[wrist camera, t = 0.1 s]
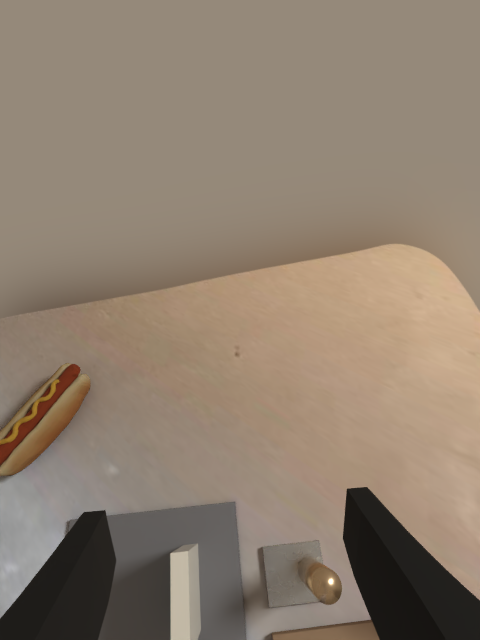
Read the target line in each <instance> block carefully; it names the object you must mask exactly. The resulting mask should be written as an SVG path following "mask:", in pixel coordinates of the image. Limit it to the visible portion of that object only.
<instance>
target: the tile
mask: <svg viewBox="0 0 480 640" xmlns="http://www.w3.org/2000/svg"><path fill="white" fill-rule="evenodd" d="M200 631H201V616H200V587H199V558H198V543H197V544H189V545H183V546H181V547H180V548H178V549H176V550H175V551H173V552H172V553H170V640H198V637H199V634H200Z"/></svg>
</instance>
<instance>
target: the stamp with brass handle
mask: <svg viewBox="0 0 480 640" xmlns="http://www.w3.org/2000/svg"><path fill="white" fill-rule="evenodd" d="M263 556H264V566H265V575H266V584H267V593H268V602H269V608H271V607H279V606H287V605H295V604H303V603H311V602H319V601H320V602H322V603H323V604H326V605H331V604H334V603H336V602H337V601H338V600H339V598H340V596H341V592H342V585H341V581H340V579H339V577H338V575H337V574H336V573H335V572H334V571H333V570H331V569H329V568H328V567H326V566H325V565H323V560H322V554H321V548H320V543H319V540H316V541H307V542H299V543H290V544H282V545H273V546H265V547H263Z"/></svg>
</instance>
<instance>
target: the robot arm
mask: <svg viewBox="0 0 480 640" xmlns="http://www.w3.org/2000/svg"><path fill="white" fill-rule="evenodd" d="M343 540H344V544H345V547H346V551H347V554H348V558H349V561H350V564H351V568H352V571H353V574H354V577H355V580H356V582H357V585H358V587H359V590H360V592H361V595H362V597H363V600H364V602H365V605H366V607H367V610H368V612H369V615H370V617H371V620H372V622H373V625H374V627H375V630H376V632H377V634H378V637H379V639H380V640H480V600H479V599H477V598H476V597H475V596H474V595H473V594H472V593H471V592H470V591H469V590H467V589H466V588H465V587H464V586H463V585H462V584H461V583H460V582H459V581H458V580H457V579H456V578H455V577H453V576H452V575H451V574H450V573H449V572H448V571H447V570H446V569H445V568H444V567H443V566H442V565H441V564H440V563H439V562H438V561H437V560H436V559H435V558H434V557H433V556H432V555H431V554H430V553H429V552H428V551H427V550H426V549H425V548H424V547H423V546H422V545H421V544H420V543H419V542H418V541H417V540H416V539H415V538H414V537H413V536H412V535H411V534H410V533H409V532H408V531H407V530H406V529H405V528H404V527H403V526H402V525H401V523H400V522H399V521H398V520H397V519H396V518H395V517H394V516H393V515H392V514H391V513H390V512H389V510H388V509H387V508H386V507H385V506H384V505H383V504H382V503H381V502H380V501H379V499H378V498H377V497H376V496H375V495H374V494H373V493H372V492H371V491H370V490H369V489H368V488H367V487H362V488H351V489H347V495H346V507H345V519H344V531H343ZM115 566H116V556H115V552H114V547H113V543H112V538H111V534H110V530H109V525H108V521H107V516H106V512H105V510H104V511H92V512H84V513H83V514H82V515H81V516H80V517H79V519H78V520H77V521H76V523H75V524H74V525H73V527H72V528H71V529H70V531H69V532H68V534H67V535H66V536H65V538H64V539H63V540H62V542H61V543H60V544H59V546H58V547H57V548H56V550H55V551H54V552H53V554H52V555H51V556H50V558H49V559H48V560H47V561H46V563H45V564H44V565H43V567H42V568H41V569H40V570H39V572H38V573H37V574H36V576H35V577H34V578H33V579H32V581H31V582H30V583H29V584H28V586H27V587H26V588H25V590H24V591H23V592H22V593H21V595H20V596H19V597H18V598H17V599H16V601H15V602H14V603H13V604H12V605H11V607H10V608H9V609H8V610H7V611H6V613H5V614H4V615H3V616H2V617H1V618H0V640H98V638H99V634H100V631H101V627H102V624H103V620H104V617H105V613H106V610H107V606H108V603H109V598H110V593H111V588H112V582H113V577H114V571H115Z"/></svg>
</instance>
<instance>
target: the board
mask: <svg viewBox="0 0 480 640" xmlns="http://www.w3.org/2000/svg"><path fill="white" fill-rule="evenodd" d="M272 639H273V640H380V639H379V637H378V634H377V632H376V630H375V627H374V625H373V622H372V620H366V621H358V622H350V623H343V624H335V625H327V626H320V627H312V628H304V629H296V630H289V631H281V632H273V633H272Z"/></svg>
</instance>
